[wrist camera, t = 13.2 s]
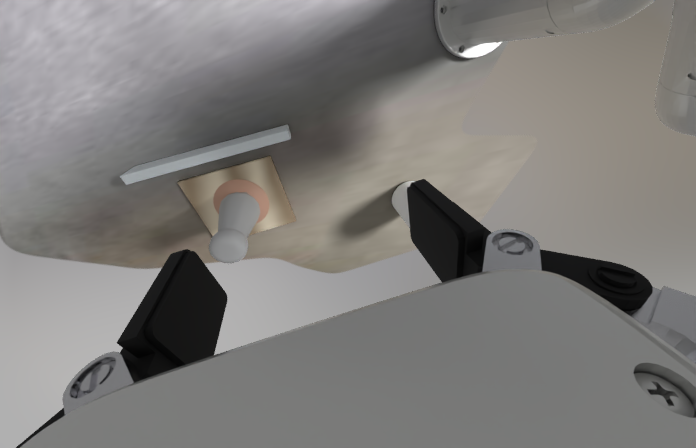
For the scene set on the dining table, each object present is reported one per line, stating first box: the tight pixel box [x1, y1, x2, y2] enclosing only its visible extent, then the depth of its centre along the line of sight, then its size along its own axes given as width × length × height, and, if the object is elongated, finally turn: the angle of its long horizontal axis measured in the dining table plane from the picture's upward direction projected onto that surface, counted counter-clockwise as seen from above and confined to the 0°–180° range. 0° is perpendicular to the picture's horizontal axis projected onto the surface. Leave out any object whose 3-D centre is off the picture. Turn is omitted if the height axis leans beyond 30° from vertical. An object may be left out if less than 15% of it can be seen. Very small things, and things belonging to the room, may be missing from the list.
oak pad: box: [178, 156, 296, 236], centre depth 41 cm, size 14×12×1 cm
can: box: [392, 181, 415, 228], centre depth 42 cm, size 6×6×12 cm
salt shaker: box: [209, 192, 260, 263], centre depth 35 cm, size 6×6×13 cm
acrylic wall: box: [120, 124, 291, 185], centre depth 34 cm, size 22×1×4 cm, turn 102°
